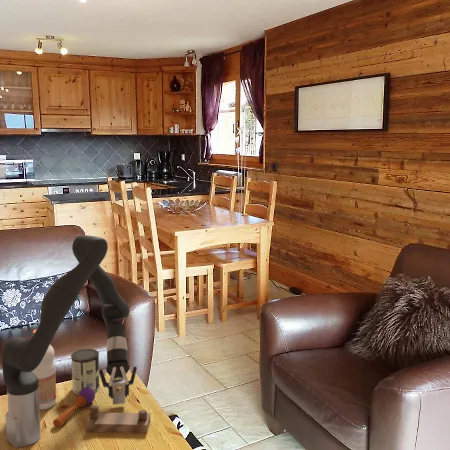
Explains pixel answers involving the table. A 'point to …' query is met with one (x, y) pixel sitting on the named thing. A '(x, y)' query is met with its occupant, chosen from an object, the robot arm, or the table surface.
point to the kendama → (76, 405)
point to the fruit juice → (46, 379)
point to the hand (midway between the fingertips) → (119, 397)
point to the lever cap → (118, 391)
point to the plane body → (117, 422)
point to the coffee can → (85, 370)
